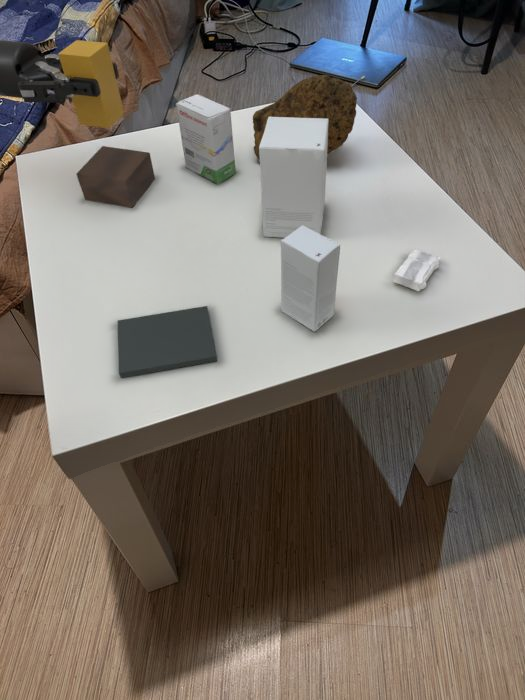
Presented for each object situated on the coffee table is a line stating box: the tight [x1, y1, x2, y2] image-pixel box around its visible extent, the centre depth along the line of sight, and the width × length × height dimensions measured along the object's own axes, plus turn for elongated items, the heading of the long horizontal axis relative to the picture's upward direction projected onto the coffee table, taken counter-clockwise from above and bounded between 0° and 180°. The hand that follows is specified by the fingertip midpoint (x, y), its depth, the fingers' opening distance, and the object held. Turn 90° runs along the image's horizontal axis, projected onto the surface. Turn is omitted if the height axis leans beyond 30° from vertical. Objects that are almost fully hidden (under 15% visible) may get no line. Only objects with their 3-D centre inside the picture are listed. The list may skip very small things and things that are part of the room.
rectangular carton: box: [259, 117, 328, 239], centre depth 77 cm, size 9×9×15 cm
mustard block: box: [57, 39, 125, 129], centre depth 76 cm, size 5×5×10 cm
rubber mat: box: [117, 305, 218, 379], centre depth 67 cm, size 12×9×1 cm
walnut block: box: [76, 145, 156, 209], centre depth 89 cm, size 9×9×5 cm
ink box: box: [175, 93, 237, 185], centre depth 89 cm, size 8×5×12 cm, turn 47°
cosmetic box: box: [280, 225, 341, 333], centre depth 66 cm, size 6×4×12 cm
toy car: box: [392, 248, 441, 292], centre depth 74 cm, size 5×8×2 cm, turn 146°
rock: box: [252, 74, 358, 160], centre depth 92 cm, size 13×12×20 cm
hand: (107, 79), depth 75 cm, fingers closed on mustard block, 5 cm apart
